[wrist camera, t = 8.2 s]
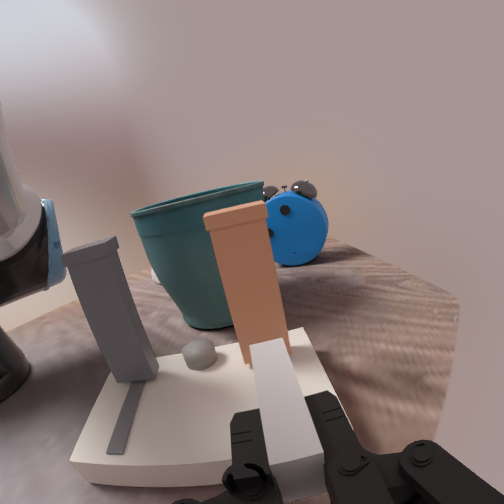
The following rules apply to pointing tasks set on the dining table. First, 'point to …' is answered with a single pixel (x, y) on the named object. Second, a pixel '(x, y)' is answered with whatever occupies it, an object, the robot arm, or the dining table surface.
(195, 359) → the console
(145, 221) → the flower pot
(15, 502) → the dining table surface
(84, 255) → the gray capped upright block
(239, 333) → the terracotta paddle
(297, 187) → the alarm clock
